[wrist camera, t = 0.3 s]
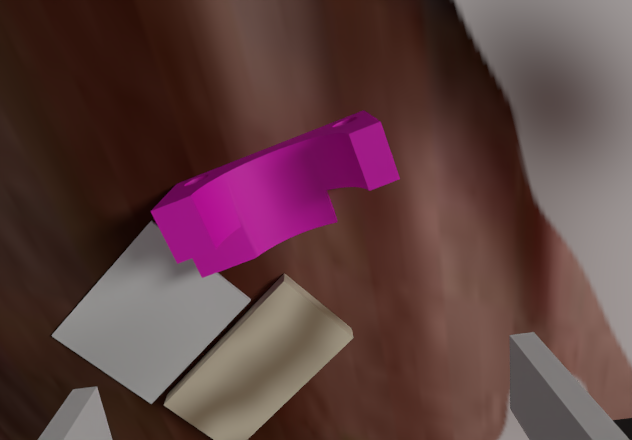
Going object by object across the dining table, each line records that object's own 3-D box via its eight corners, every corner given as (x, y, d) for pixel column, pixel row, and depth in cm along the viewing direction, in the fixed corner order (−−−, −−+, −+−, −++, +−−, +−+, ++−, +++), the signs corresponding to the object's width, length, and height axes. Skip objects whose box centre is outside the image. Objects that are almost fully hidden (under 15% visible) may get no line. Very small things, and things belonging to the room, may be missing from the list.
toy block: (211, 254, 40) (194, 297, 33) (176, 183, 38) (150, 211, 31) (390, 186, 39) (412, 215, 32) (363, 110, 37) (380, 121, 30)
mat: (52, 333, 41) (51, 335, 41) (151, 220, 39) (150, 221, 38) (152, 401, 43) (151, 404, 43) (251, 299, 41) (250, 300, 41)
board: (167, 393, 43) (163, 405, 42) (284, 273, 40) (284, 280, 39) (235, 440, 45) (233, 453, 44) (351, 328, 42) (353, 337, 41)
